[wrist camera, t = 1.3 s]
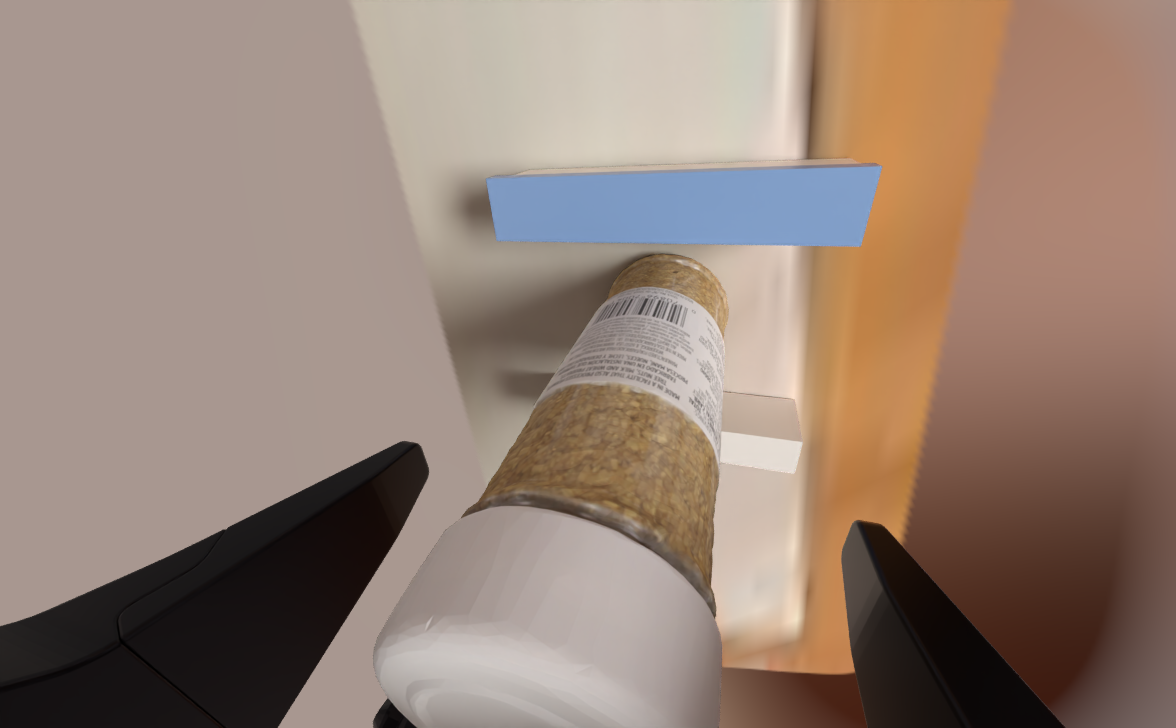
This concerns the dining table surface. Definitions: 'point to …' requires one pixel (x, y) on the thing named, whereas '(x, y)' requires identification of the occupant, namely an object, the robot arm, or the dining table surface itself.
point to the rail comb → (700, 239)
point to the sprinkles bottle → (586, 538)
